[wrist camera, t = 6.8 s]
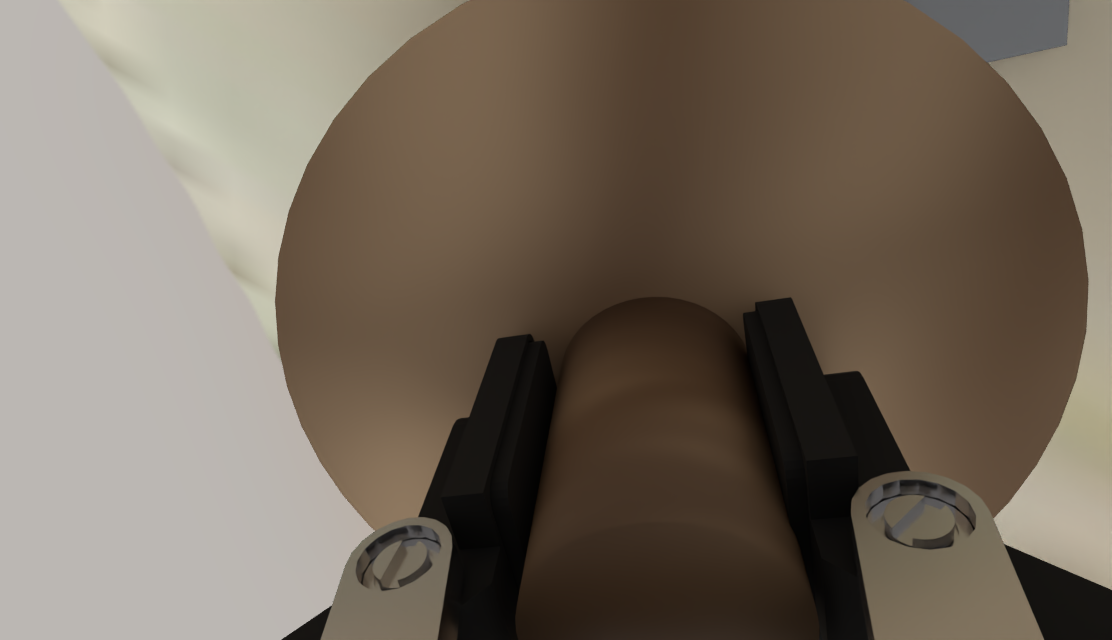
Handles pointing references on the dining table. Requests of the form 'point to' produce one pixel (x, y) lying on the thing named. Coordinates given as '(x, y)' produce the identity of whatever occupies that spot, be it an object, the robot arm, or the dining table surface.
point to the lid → (677, 279)
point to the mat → (1002, 24)
